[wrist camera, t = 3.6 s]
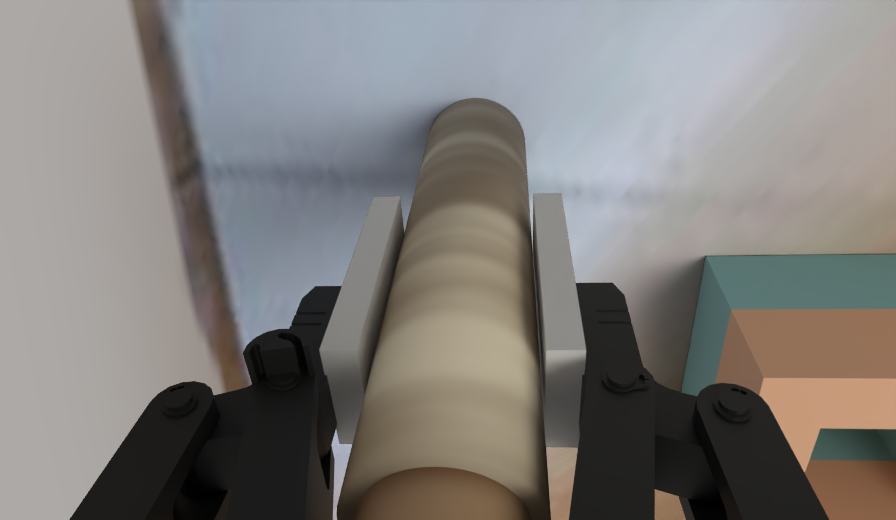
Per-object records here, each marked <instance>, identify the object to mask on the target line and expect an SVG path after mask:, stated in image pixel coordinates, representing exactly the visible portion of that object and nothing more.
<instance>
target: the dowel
mask: <svg viewBox="0 0 896 520" xmlns="http://www.w3.org/2000/svg"><path fill="white" fill-rule="evenodd" d="M337 520H551V514H550V500H549V485H548V471H547V456H546V442H545V427H544V412H543V398H542V383H541V369H540V354H539V340H538V325H537V310H536V296H535V281H534V267H533V252H532V238H531V223H530V208H529V194H528V179H527V165H526V150H525V137H524V133H523V130H522V127H521V125H520V123H519V121H518V120H517V118H516V117H515V116H514V115H513V114H512V113H511V111H509V110H508V109H507V108H506V107H504V106H502V105H501V104H499V103H496V102H494V101H491V100H487V99H481V98H472V99H465V100H461V101H459V102H456V103H454V104H452V105H450V106H448V107H447V108H446V109H444V110H443V111H442V112H441V113H440V114H439V115H438V117H437V118H436V119H435V121H434V122H433V124H432V127H431V129H430V132H429V136H428V140H427V144H426V148H425V152H424V156H423V160H422V164H421V168H420V173H419V177H418V181H417V185H416V189H415V193H414V197H413V201H412V205H411V209H410V213H409V217H408V221H407V225H406V229H405V233H404V237H403V242H402V246H401V250H400V254H399V258H398V262H397V266H396V270H395V274H394V278H393V282H392V286H391V290H390V294H389V298H388V302H387V306H386V311H385V315H384V319H383V323H382V327H381V331H380V335H379V339H378V343H377V347H376V351H375V355H374V359H373V363H372V367H371V371H370V375H369V380H368V384H367V388H366V392H365V396H364V400H363V404H362V408H361V412H360V416H359V420H358V424H357V428H356V432H355V436H354V440H353V444H352V448H351V453H350V457H349V461H348V465H347V469H346V473H345V477H344V481H343V485H342V489H341V493H340V497H339V501H338V505H337Z"/></svg>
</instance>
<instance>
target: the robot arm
mask: <svg viewBox="0 0 896 520" xmlns="http://www.w3.org/2000/svg"><path fill="white" fill-rule="evenodd" d="M403 237H404V227H403V218H402V209H401V200H400V196H393V197H373V200H372V203H371V206H370V209H369V211H368V214H367V217H366V220H365V223H364V225H363V228H362V231H361V234H360V237H359V239H358V242H357V245H356V248H355V251H354V254H353V256H352V259H351V262H350V265H349V268H348V270H347V273H346V276H345V279H344V282H343V285H342V286H315V287H314V288H313V289H312V290H311V291H310V292H309V293H308V294H307V295H306V296H304V297H303V298H302V300H301V303H300V305H299V307H298V310H297V312H296V315H295V316H294V319H293V321H292V326H290V328H289V329H277V330H273V331H269V332H266V333H264V334H262V335H260V336H258V337H256V338H255V339H253V340H252V341H251V342H250V343H249V344H248V345H247V346H246V348H245V350H244V352H243V355H244V358H245V362H246V365H247V368H248V372H249V375H250V378H251V382H252V385H250V386H248V387H246V388H242V389H239V390H236V391H231V392H227V393H223V394H218V395H213V392H212V389H211V388H210V387H208V386H207V385H206V384H205V383H200V382H195V381H192V382H182V383H179V384H176V385H173V386H170V387H168V388H167V389H165V390H164V391H162V392H160V393H159V394H157V396H156V397H155V398H154V399H153V400H152V401H151V402H150V403H149V405H148V406H147V408H146V409H145V410H144V412H143V413H142V415H141V416H140V418H139V419H138V421H137V422H136V423H135V425H134V426H133V428H132V429H131V431H130V432H129V434H128V436H127V437H126V438H125V440H124V441H123V442H122V444H121V445H120V447H119V448H118V450H117V451H116V453H115V454H114V456H113V457H112V458H111V460H110V461H109V463H108V464H107V466H106V467H105V469H104V470H103V472H102V473H101V475H100V476H99V477H98V479H97V480H96V482H95V483H94V485H93V486H92V488H91V489H90V491H89V492H88V494H87V495H86V496H85V498H84V499H83V501H82V502H81V504H80V505H79V507H78V508H77V510H76V511H75V512H74V514H73V515H72V517H71V518H70V520H333V490H334V455H333V451H332V447H331V444H332V440H333V437H334V433H335V430H337V434H338V439H339V444H353V440H354V436H355V432H356V428H357V424H358V420H359V416H360V412H361V408H362V404H363V400H364V396H365V392H366V388H367V384H368V380H369V375H370V371H371V367H372V363H373V359H374V355H375V351H376V347H377V343H378V339H379V335H380V331H381V327H382V323H383V319H384V315H385V311H386V306H387V302H388V298H389V294H390V290H391V286H392V282H393V278H394V274H395V270H396V266H397V262H398V258H399V254H400V250H401V246H402V242H403ZM533 267H534V281H535V296H536V310H537V325H538V340H539V354H540V369H541V383H542V398H543V412H544V427H545V442H546V447H578V453H577V461H576V469H575V476H574V484H573V492H572V500H571V508H570V516H569V520H654V509H655V489H657V490H660V491H663V492H667V493H670V494H673V495H677V496H679V499H680V502H681V505H682V508H683V511H684V514H685V518H686V520H829V518H828V516H827V514H826V512H825V510H824V508H823V507H822V505H821V503H820V501H819V499H818V497H817V495H816V493H815V492H814V490H813V488H812V486H811V484H810V482H809V480H808V478H807V477H806V475H805V473H804V471H803V469H802V467H801V465H800V463H799V462H798V460H797V458H796V456H795V454H794V452H793V450H792V448H791V447H790V445H789V443H788V441H787V439H786V437H785V435H784V433H783V432H782V430H781V428H780V426H779V424H778V422H777V420H776V418H775V417H774V415H773V413H772V411H771V409H770V407H769V406H768V404H767V403H766V402H765V401H764V400H763V398H762V397H761V396H759V395H758V394H756V393H755V392H753V391H752V390H750V389H748V388H745V387H742V386H739V385H737V384H729V383H718V384H712V385H709V386H707V387H705V388H704V389H702V390H701V391H700V392H699V394H698V396H694V395H690V394H685V393H681V392H677V391H674V390H671V389H668V388H666V387H664V386H662V385H660V384H658V383H657V382H656V381H654V379H653V376H652V375H651V374H650V373H649V372H648V371H647V370H646V368H644V367H643V365H642V361H641V357H640V354H639V350H638V346H637V342H636V338H635V334H634V330H633V327H632V324H631V319H630V315H629V312H628V307H627V304H626V300H625V296H624V294H623V293H622V292H621V291H620V290H619V289H618V288H617V287H616V286H615V285H614V284H613V283H576V282H575V276H574V270H573V264H572V257H571V251H570V245H569V239H568V232H567V226H566V220H565V213H564V207H563V201H562V195H561V193H541V194H534V197H533Z"/></svg>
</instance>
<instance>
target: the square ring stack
mask: <svg viewBox="0 0 896 520" xmlns="http://www.w3.org/2000/svg"><path fill="white" fill-rule="evenodd" d="M718 383H729V384H737V385H739V386H742V387H745V388H748V389H750V390H752V391H753V392H755V393H756V394H758V395H759V396H761V397H762V398H763V400H764V401H765V402H766V403H767V404H768V406H769V407H770V409H771V411H772V413H773V415H774V417H775V418H776V420H777V422H778V424H779V426H780V428H781V430H782V432H783V433H784V435H785V437H786V439H787V441H788V443H789V445H790V447H791V448H792V450H793V452H794V454H795V456H796V458H797V460H798V462H799V463H800V465H801V467H802V469H803V471H804V473H805V475H806V477H807V478H808V480H809V482H810V484H811V486H812V488H813V490H814V492H815V493H816V495H817V497H818V499H819V501H820V503H821V505H822V507H823V508H824V510H825V512H826V514H827V516H828V518H829V520H896V254H860V255H772V256H706V259H705V264H704V270H703V275H702V281H701V286H700V292H699V297H698V303H697V308H696V314H695V319H694V325H693V330H692V336H691V341H690V347H689V352H688V358H687V363H686V369H685V374H684V380H683V385H682V391H681V393H685V394H690V395H694V396H698V394H699V392H700V391H701V390H702V389H704V388H705V387H707V386H709V385H712V384H718Z"/></svg>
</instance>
